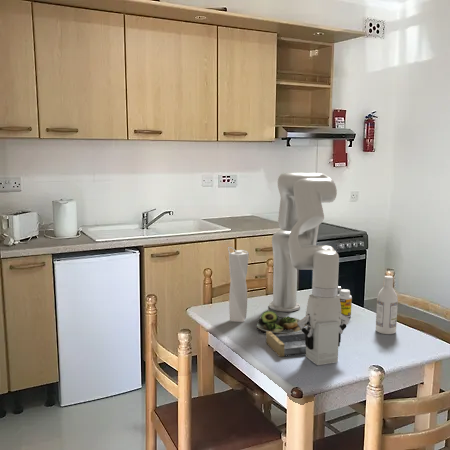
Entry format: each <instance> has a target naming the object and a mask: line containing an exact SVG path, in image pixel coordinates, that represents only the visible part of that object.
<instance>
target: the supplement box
mask: <svg viewBox="0 0 450 450" xmlns="http://www.w3.org/2000/svg"><path fill="white" fill-rule="evenodd" d="M309 323H310V321H308V324H309ZM307 326H308V325H307ZM307 326H306V327H307ZM310 329H311V328H310ZM312 337H313V349H312V350H310V349H309V348H308V347H306V354H305V357H306V358H307V359H309V361H311V362H312V363H314V364H315V365H316V366H323V365H330V364H335V363H338V362H339V347H338V340H339V322H327V323H318V324H316V328H315V330H314V333H313V334H312Z"/></svg>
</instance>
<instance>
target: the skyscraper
mask: <svg viewBox="0 0 450 450" xmlns="http://www.w3.org/2000/svg"><path fill="white" fill-rule="evenodd" d="M230 249H232V250H233V252H230ZM227 250H228V267H229V279H230V282H229V283H230V284H229V296H228V297H229V298H228V300H229V301H228V302H229V305H228V308H229V309H228V311H229V322H238V323H239V322H240V323H245V320H246V319H247V311H248V286H247V281H246V280H247V275H248V267H249V258H250V257H249V256H250V255H249V254H250V253H249V251H247V250H246V249H237V250H236V249H235V248H234V247H232V246H228V247H227Z"/></svg>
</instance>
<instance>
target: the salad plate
mask: <svg viewBox="0 0 450 450" xmlns="http://www.w3.org/2000/svg"><path fill="white" fill-rule="evenodd" d="M300 320H301V319H299V318H296V317H292V316H285V317H284V316H278V314H277V313H276V312H275V311H271V310H265V311H263V312H262V314H261V315H260V318H259V319H258V321H257V325H256V330H258V332H260V333H261V334H265V335H266V331H271V332H272V333H273V334H274V335H278V334H288V333H298V332H302V331H301V330H300V328H299V326H298V324H297V323H298V322H299V321H300ZM304 327H305V328H307V325H306V323H305V324H304ZM284 331H291V332H284Z"/></svg>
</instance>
